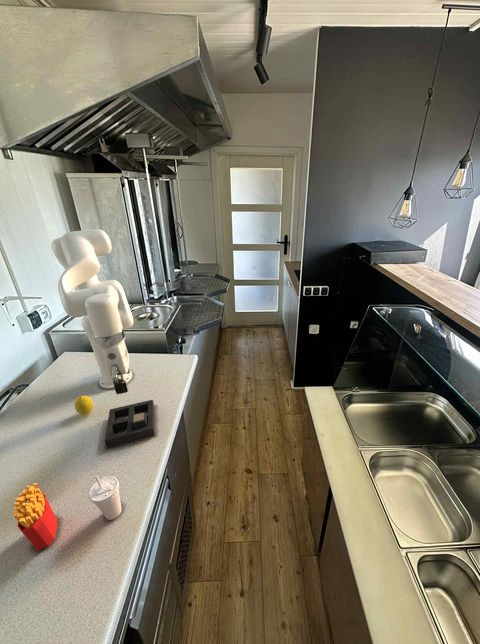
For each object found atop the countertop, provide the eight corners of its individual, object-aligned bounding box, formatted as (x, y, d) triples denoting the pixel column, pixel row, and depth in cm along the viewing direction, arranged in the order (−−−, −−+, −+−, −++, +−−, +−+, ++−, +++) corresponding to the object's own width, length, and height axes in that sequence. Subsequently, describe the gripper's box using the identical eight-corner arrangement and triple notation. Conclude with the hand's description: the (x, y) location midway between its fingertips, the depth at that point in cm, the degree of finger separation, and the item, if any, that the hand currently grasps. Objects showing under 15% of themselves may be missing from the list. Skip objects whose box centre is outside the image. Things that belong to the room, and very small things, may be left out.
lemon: (88, 420, 101) (81, 403, 98) (75, 418, 102) (67, 401, 99) (99, 409, 106) (93, 392, 102) (86, 407, 107) (80, 390, 103)
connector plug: (136, 427, 98) (132, 414, 95) (148, 424, 99) (145, 411, 96) (135, 436, 94) (131, 423, 92) (148, 433, 95) (145, 419, 93)
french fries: (53, 548, 66) (32, 514, 60) (31, 557, 64) (7, 524, 59) (59, 510, 73) (41, 477, 68) (40, 518, 72) (20, 485, 66)
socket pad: (112, 416, 102) (109, 409, 101) (154, 406, 107) (152, 399, 105) (106, 448, 90) (104, 440, 89) (154, 436, 94) (152, 428, 93)
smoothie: (107, 499, 76) (93, 463, 70) (131, 499, 76) (118, 464, 69) (94, 525, 70) (77, 489, 64) (119, 526, 70) (105, 490, 64)
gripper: (122, 349, 76) (135, 398, 84) (126, 321, 91) (137, 364, 99) (90, 354, 74) (107, 404, 82) (99, 324, 89) (113, 369, 96)
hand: (123, 382), depth 90 cm, fingers open, 9 cm apart
